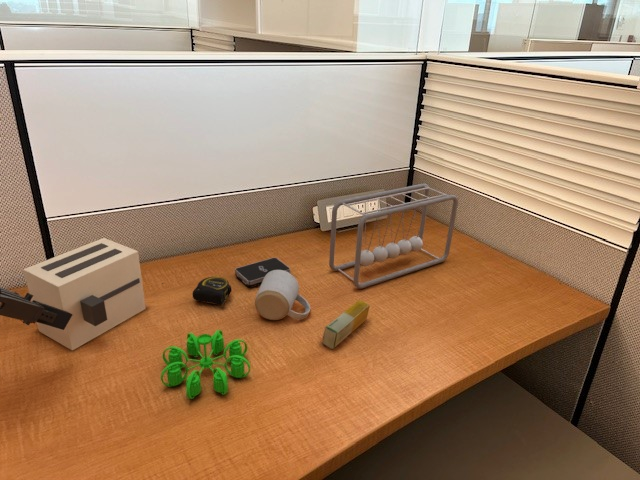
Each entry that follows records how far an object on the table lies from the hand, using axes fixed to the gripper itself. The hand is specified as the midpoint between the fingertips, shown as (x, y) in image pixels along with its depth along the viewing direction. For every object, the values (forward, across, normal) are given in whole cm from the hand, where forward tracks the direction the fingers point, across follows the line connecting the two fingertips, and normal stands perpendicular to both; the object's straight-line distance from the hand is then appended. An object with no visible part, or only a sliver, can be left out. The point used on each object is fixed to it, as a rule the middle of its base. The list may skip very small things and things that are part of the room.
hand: (65, 320), depth 77 cm
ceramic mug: (+29, +20, +17) cm, 39 cm away
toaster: (+13, -8, +1) cm, 15 cm away
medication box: (+30, +34, +18) cm, 49 cm away
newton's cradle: (+51, +30, +39) cm, 71 cm away
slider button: (+6, -1, +2) cm, 7 cm away
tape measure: (+26, +6, +13) cm, 30 cm away
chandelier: (+14, +20, +1) cm, 24 cm away
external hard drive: (+36, +8, +23) cm, 43 cm away
